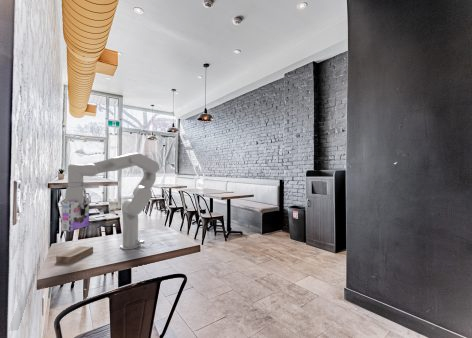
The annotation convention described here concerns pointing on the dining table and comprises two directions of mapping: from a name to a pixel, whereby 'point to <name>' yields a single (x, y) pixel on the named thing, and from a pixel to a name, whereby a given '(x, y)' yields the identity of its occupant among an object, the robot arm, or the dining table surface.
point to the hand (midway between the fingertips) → (75, 215)
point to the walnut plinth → (74, 254)
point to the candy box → (73, 216)
